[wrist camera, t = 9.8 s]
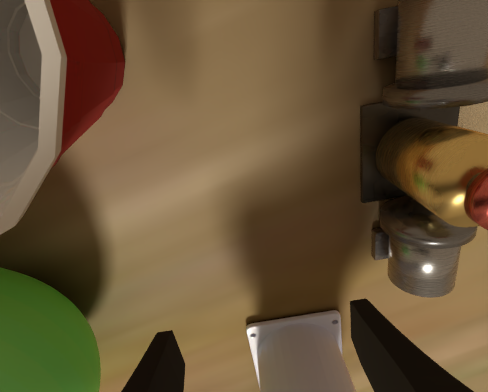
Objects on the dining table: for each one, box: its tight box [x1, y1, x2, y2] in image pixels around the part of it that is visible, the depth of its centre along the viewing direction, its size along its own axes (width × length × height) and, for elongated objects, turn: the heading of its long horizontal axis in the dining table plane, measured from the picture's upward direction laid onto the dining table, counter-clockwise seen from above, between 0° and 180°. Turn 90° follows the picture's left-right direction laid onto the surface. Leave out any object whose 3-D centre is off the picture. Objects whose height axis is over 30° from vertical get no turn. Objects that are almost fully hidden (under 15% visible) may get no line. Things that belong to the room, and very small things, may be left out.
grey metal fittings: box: [360, 0, 488, 297], centre depth 17 cm, size 17×6×5 cm, turn 10°
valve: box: [376, 118, 488, 230], centre depth 15 cm, size 4×4×8 cm
